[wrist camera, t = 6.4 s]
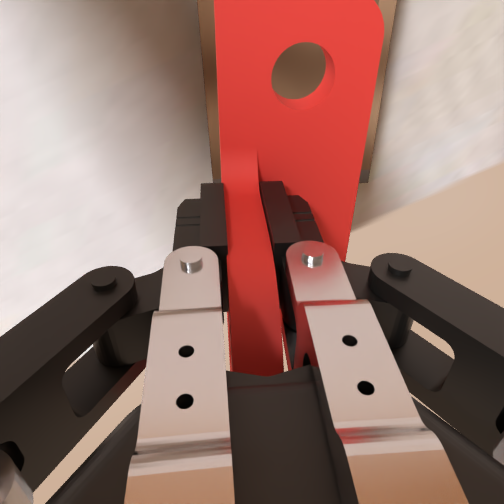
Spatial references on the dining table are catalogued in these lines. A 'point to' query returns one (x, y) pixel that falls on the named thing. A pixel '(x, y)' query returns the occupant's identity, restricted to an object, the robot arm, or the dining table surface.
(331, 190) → the bracket
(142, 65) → the dining table surface
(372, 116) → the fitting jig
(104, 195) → the dining table surface
